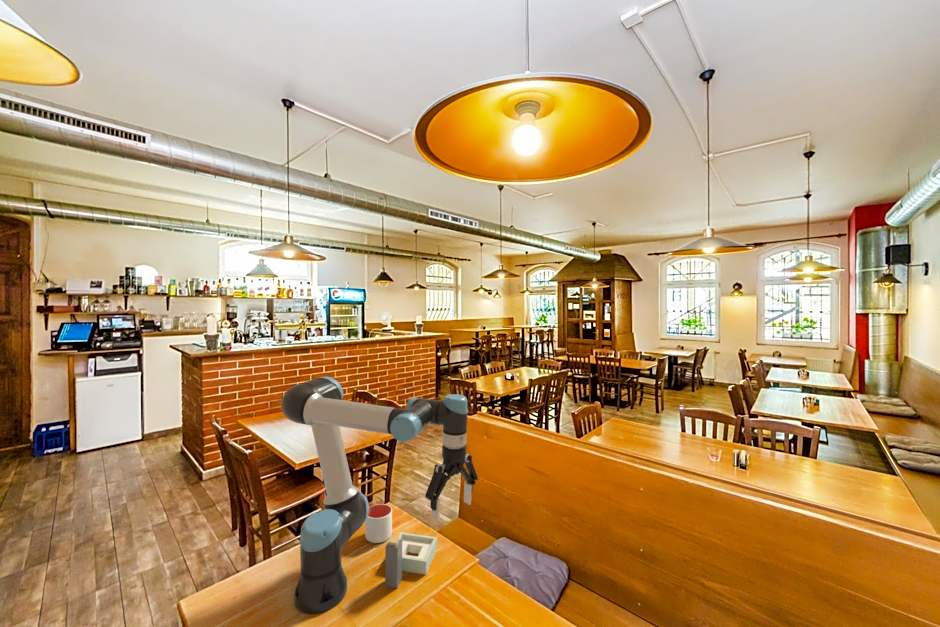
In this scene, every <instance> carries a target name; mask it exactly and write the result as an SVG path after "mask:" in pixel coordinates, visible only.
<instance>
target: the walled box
mask: <svg viewBox="0 0 940 627" xmlns="http://www.w3.org/2000/svg"><path fill="white" fill-rule="evenodd" d="M397 538H399V540H402V572H406V573H412V574H418V575H425V576H426V575H427V574H428V571H429V569H430V567H431V564H432V562H433V559H434V558H435V555H436V553H437V550H438V537H436V536H428V535H424V534H418V533H417V534H415V533H408V532H401V531H400V533H399V535H398V536H397ZM408 553H412V554H417V555H418V556H416V555H409V554H408Z"/></svg>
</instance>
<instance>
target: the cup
mask: <svg viewBox="0 0 940 627" xmlns="http://www.w3.org/2000/svg"><path fill="white" fill-rule="evenodd" d="M392 533H393V508H392V507H391V506H390V505H389V504H384V503H377V504H373V505H371V506H369V513H368V516H367V518H366V520H365V521H364V537H365V539H366V541H368V543H369V542H370V543H372V544H380V543H383V542H386V541H388V539H390V537H391V535H393V534H392Z"/></svg>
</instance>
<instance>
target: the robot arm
mask: <svg viewBox="0 0 940 627" xmlns="http://www.w3.org/2000/svg"><path fill="white" fill-rule="evenodd" d="M343 398H344V390H343V388H342V385H341V384H340V383H339V381H338V380H336V379H334V378H333V377H331V376H320V377H316V378H313V379H311V380H307V381H304V382H301V383H298V384H295V385H293V386H291V387H290V388H288V389H287V391H285V393H284V394H283V396H282V397H281V402H280V404H281V408H280V409H281V411H282V413H283V415H284V416H285V418H287V420H290V421H291V422H293V423H296V424H301V425H306V426H310V427H311V429H312V436H313V438H314V443H315V447H316V453H317V457H318V461H319V464H320V470H321V474H322V478H323V484H324V488H325V492H326V495H325V497H324V499H323V501H322V502H323V506H324V509H320V510H319V512H314V513H312V514H310V515H309V516H308V517H307V518H305V520H304V522H303V523H302V525H301V528H300V535H299V544H300V545H299V548H300V574H299V578H298V581H297V584H296V587H295V590H294V595H293V598H294V599H293V600H294V606H295V608H296V609H297V611H300V612H302V613H304V614H309V615H311V614H319V613H323V612H326V611H328V610H330V609H333V608H334V607H335V606H337V605H338V604H339V603H341V601H343V599H344V597H345V596H346V594H347V592H348V579H347V576H346V574H345V571H344V568H343V565H342V549H343V547H344V546H345V545H346V543H347V542H349V540H350V539H351V537H352V536H354V535H355V533H356V532H357V531H359V530H360V529H361V527H362V526H363V525H364V524H365V520H366V518H367V516H368V513H369V507H370V505H369V500H368V499H367V497H366V495H363V493H362V492H361V491H360V490H359V488H358V487H357V486H356V485H354V484H353V481H352V477H351V472H350V467H349V464H348V458H347V455H346V454H347V453H346V450H345V445H344V440H343V437H342V433H341V428H340V427H342V428H343V427H344V428H348V429H355V430H361V431H366V432H373V433H380V434H386V435H391V436H392V437H393V438H394V439H395V440H396V441H397V442H399V443H407V442H410V441H411V440H414V439H415V438H416V437H417V436H418V435H419V434H420V433H421V432H422V431H423V430H425V428H426V427H428V425H435V426H442V442H441V443H442V447H441V457H442V460H443V461H442V464H438V463H436V464H434V468H433V474H432V476H431V478H430V481H429V484H428V487H427V490H426V492H425V495H424V498H426V499H427V500H429V501H430V509H431V519H433V520H435V521H436V522H439V521H440V509H441V508H440V507H441V504H440V502H441V499H440V498H439V497H440V496H441V494H442V492H443V490H444V488H445V487H446V485H447V483H448V481H449V480H451V477H454V476H455V475H458V474H460V475H461V476H462V477H463V478H464V480H465V481H464V483H463V484H464V485H463V486H464V487H463V502H464V503H465V504H467V505H468V506H470V505H472V493H473V488H474V487H473V485H476V481H477V480H478V474H477V472H476V469H475V466H474V464H473V460H472V459H473V457H472V455H471V454H468V453H467V437H468V436H467V432H468V413H469V410H468V399H467V397H466V396H465V395H462V394H459V393H458V394H456V393H455V394H453V393H451V394H447V395H445V396H444V398H443V400H438V399H429V398H422V397H418V398H417V397H412V398H410V399H408V401H407V403H406V405H405V408H396V407H394V406H393V407H392V406H384V405H376V404H371V403H370V404H369V403H364V402H357V401H349V400H345V399H343ZM464 464H465V465H464ZM464 466H465V467H466V468H465V467H464Z"/></svg>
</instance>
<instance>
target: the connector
mask: <svg viewBox="0 0 940 627" xmlns="http://www.w3.org/2000/svg"><path fill="white" fill-rule="evenodd" d="M384 578H385V581H384V582H385V583H384V584H385V587H388V588H393V589H398V588H399V586H400V584H401V583H402V580H403V571H402V540H399V538H398V537H391V538H389V540H388V542H387V544H386V545H385V577H384Z"/></svg>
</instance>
